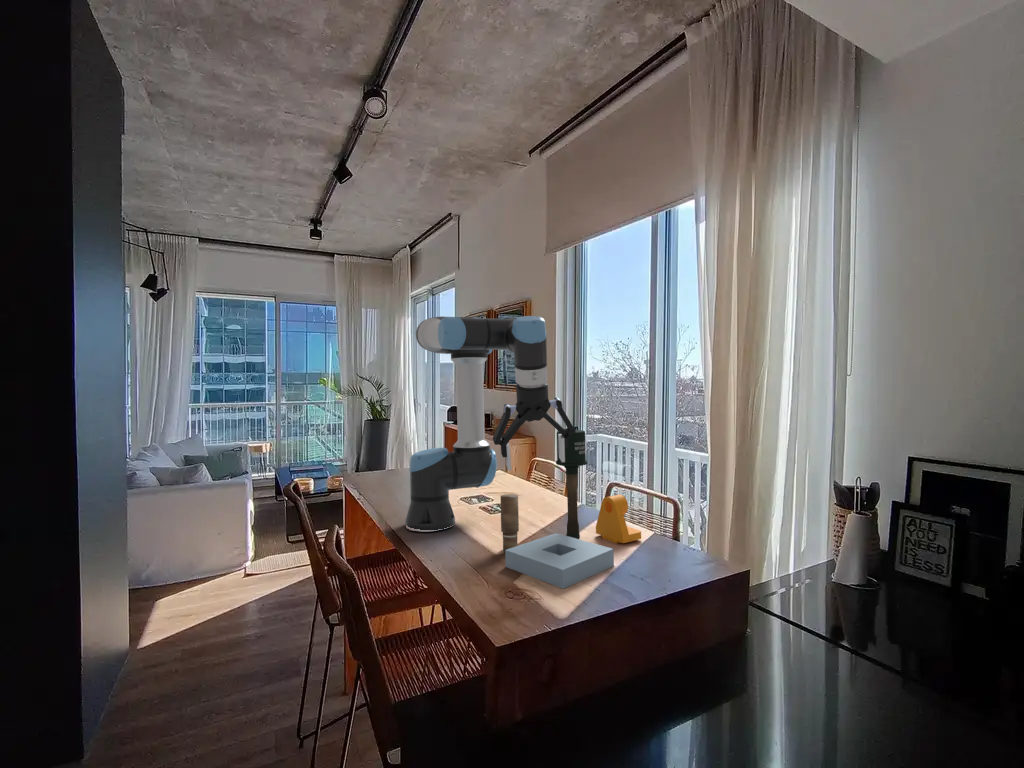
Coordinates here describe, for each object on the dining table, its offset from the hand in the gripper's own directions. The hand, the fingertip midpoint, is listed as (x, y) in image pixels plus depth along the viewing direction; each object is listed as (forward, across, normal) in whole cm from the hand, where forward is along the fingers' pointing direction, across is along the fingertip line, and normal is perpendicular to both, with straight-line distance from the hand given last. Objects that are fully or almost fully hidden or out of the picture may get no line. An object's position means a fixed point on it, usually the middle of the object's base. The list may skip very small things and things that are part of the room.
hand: (535, 463), depth 123 cm
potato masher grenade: (+27, +10, +2) cm, 29 cm away
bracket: (+28, +23, +1) cm, 36 cm away
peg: (+24, -8, 0) cm, 25 cm away
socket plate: (+20, +1, -14) cm, 25 cm away
